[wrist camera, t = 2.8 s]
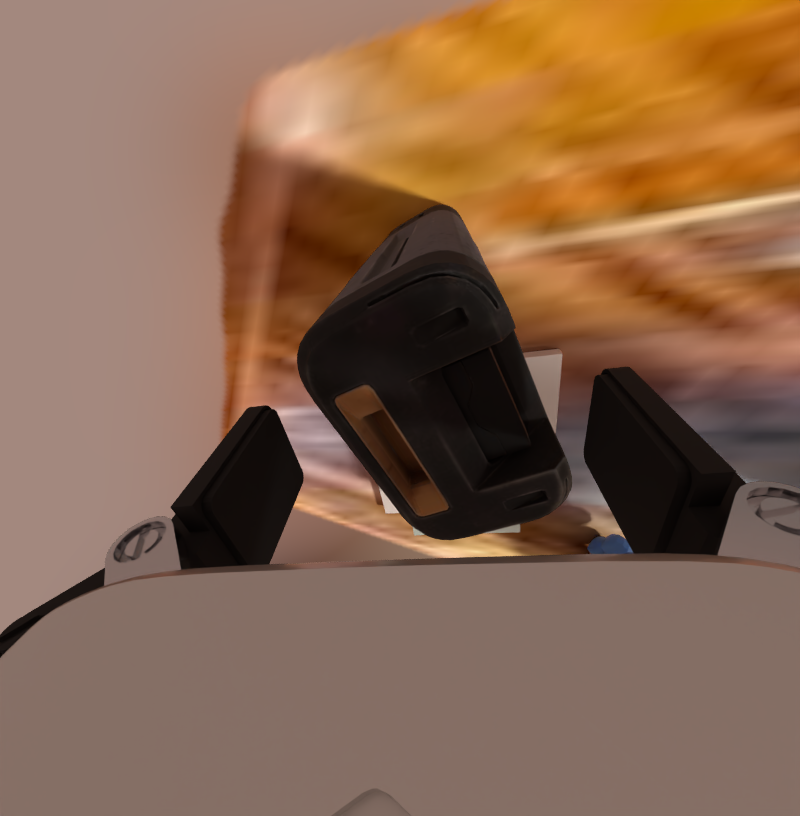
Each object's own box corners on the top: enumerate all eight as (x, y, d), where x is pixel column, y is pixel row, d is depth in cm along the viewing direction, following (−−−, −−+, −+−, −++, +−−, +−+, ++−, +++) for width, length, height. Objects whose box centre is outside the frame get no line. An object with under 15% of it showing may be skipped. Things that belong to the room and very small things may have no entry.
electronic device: (500, 314, 28) (588, 515, 11) (432, 345, 30) (424, 555, 13) (452, 193, 24) (481, 235, 7) (377, 238, 26) (265, 352, 9)
